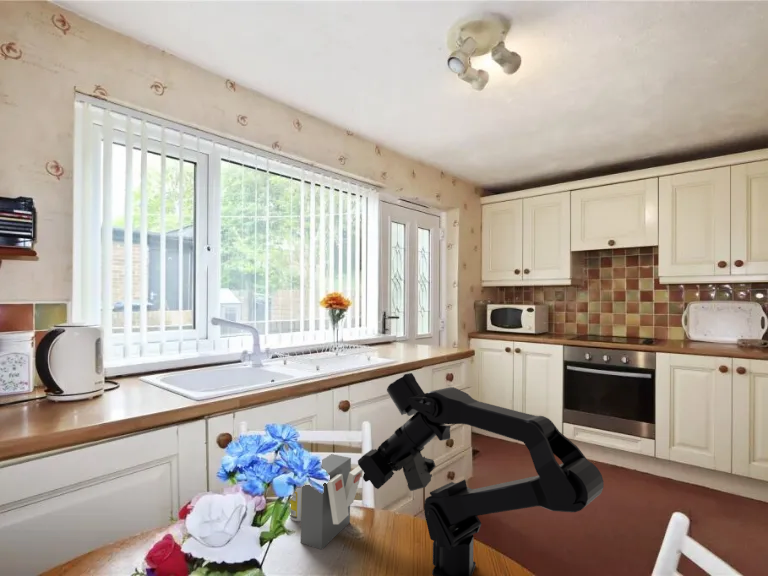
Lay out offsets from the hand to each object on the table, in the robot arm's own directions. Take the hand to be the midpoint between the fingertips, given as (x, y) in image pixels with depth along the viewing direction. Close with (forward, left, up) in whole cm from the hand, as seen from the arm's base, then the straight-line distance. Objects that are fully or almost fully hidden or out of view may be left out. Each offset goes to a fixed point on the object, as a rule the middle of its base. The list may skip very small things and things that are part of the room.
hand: (364, 479), depth 86 cm
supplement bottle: (+16, 0, -12) cm, 20 cm away
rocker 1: (+2, +6, -6) cm, 9 cm away
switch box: (+7, +3, -11) cm, 14 cm away
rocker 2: (+4, 0, -6) cm, 7 cm away
